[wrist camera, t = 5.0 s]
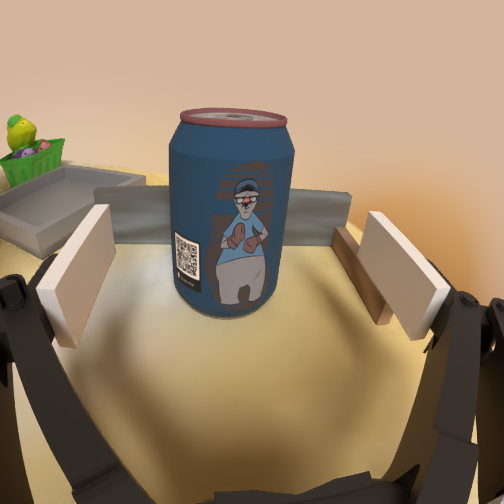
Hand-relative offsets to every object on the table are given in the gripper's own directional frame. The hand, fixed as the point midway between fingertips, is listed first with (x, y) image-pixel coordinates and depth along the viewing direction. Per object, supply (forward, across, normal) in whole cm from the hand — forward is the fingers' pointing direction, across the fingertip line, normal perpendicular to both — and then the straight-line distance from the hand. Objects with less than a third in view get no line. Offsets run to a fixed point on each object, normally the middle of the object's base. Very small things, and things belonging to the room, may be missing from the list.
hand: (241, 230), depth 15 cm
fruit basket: (+32, -32, -7) cm, 46 cm away
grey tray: (+18, -20, -7) cm, 28 cm away
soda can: (+4, 0, -7) cm, 8 cm away
